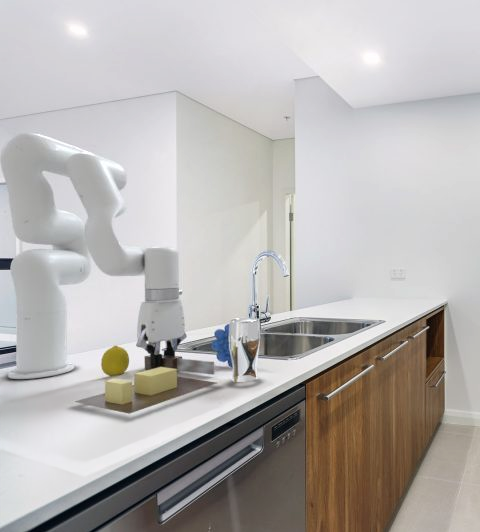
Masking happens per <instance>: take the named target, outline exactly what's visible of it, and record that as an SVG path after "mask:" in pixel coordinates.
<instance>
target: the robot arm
mask: <svg viewBox="0 0 480 532" xmlns="http://www.w3.org/2000/svg"><path fill="white" fill-rule="evenodd" d="M0 168H1V171H2V175H3V178H4V181H5V185H6V188H7V193H8V201H9V209H10V216H11V222H12V229H13V232H14V235H15V237H16V238H17V239H18V240H19V241H20V242H23V243H27V244H32V245H46V246H48V245H49V246H51V247H52V248H33V249H32V248H31V249H27V250H24V251H21V252H19V253H17V255H15V256H14V257H13V259H12V261H11V263H10V275H11V279H12V282H13V286H14V293H15V304H16V307H15V308H16V310H15V311H16V357H15V358H14V361H15V363H16V368H14V369H12V370H9V371H8V372H7V377H8V378H9V379H12V380H30V379H31V380H32V379H40V378H48V377H51V376H58V375H61V374H65V373H68V372H71V371H73V370H74V369H75V364H74V363H73V362H68V351H67V350H68V347H67V345H68V344H67V343H68V342H67V341H68V340H67V339H68V335H67V334H68V330H67V329H68V324H67V323H68V322H67V321H68V318H67V317H68V312H67V300H66V299H67V298H66V296H65V293H64V292H63V290H62V288H61V286H71V285H78V284H81V283H84V282H85V281H86V280H87V279H88V277H89V276H90V274H91V271H92V260H93V262H94V264H95V265H96V267H97V268H98V269H99V270H100V271H101V272H102V273H104V275H107V276H110V277H137V276H138V277H140V276H144V301H142V302H141V304H140V306H139V311H138V318H137V327H136V328H137V329H136V338H137V341H136V344H135V346H136V347H137V348H139V349H143V350H145V351H146V352H147V354H148V355H150V365H151V369H154V368H158V367H162V355H171V356H176V351H177V350H178V347H179V345H180V344H181V342H183V341H185V339H186V338H187V337H188V336H187V333H186V332H185V331H186V330H185V329H186V328H185V327H186V326H185V325H186V324H185V313H184V307H183V302H182V300H181V299H180V296H181V295H182V294H183V290H182V289H180V252H179V250H178V249H177V248H175V247H172V246H150V247H144V246H134V245H122V244H121V242H120V239H119V238H118V235H117V234H116V231H115V227H114V221H115V219H116V218H118V217H120V216H122V215H123V214H124V213H125V212H126V211H127V203H126V201H125V200H124V198H123V196H122V194H121V192H120V191H122V190H123V189H125V187H126V186H127V183H128V175H127V171H126V170H125V168H123V166H122V165H121V164H120V163H118V162H116V161H114V160H111V159H108V158H105V157H102V156H100V155H98V154H95V153H92V152H90V151H87V150H84V149H82V148H80V147H77V146H74V145H71V144H68V143H65V142H62V141H60V140H57V139H54V138H51V137H48V136H45V135H42V134H37V133H33V132H31V133H30V132H22V133H17V134H14V135H13V136H11V137H10V138H9V139H8V140H7V141H6V142H5V143H4V145H3V146H2V149H1V151H0ZM43 172H47V173H52V174H55V175H59V176H63V177H66V178H69V180H70V182H71V185H72V186H73V188H74V190H75V192H76V194H77V196H78V198H79V200H80V202H81V204H82V206H83V208H84V210H85V213H86V215H87V218H86V221H85V223H84V221H83V220H82V219H81V218H80V217H79V216H78V215H77V214H75V213H72V212H70V211H66V210H61V209H57V206H56V202H55V195H54V194H55V193H54V191H53V188H52V186H51V184H50V182H49V181H48V180H47V178H46V177H45V175H44V173H43ZM91 258H92V259H91ZM161 342H165V343H164V344H165V350H163V354H162V353H161ZM151 369H150V370H151Z"/></svg>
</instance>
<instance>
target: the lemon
mask: <svg viewBox="0 0 480 532" xmlns="http://www.w3.org/2000/svg"><path fill="white" fill-rule="evenodd" d="M129 365H130V357H129V353H128V351H127V350H126V349H125V348H123V347H121V346H118V345H113V346H112V347H110V348H109V349H107V350H105V352H104V353H103V355H102V357H101V361H100V367H101V370H102V372H103V373H104V374H105V375H107V376H108V377H112V376H118V375H119V376H120V375H123V374H124V373H125V372H126V371H127V370H128V368H129Z"/></svg>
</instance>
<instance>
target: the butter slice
mask: <svg viewBox="0 0 480 532" xmlns="http://www.w3.org/2000/svg"><path fill="white" fill-rule="evenodd" d="M132 385H133V381H132V380H126V379H119V378H112V379H108V380H105V381H104V393H105V402H110V403H115V404H120V405H123V404H126V403H130V402H132Z"/></svg>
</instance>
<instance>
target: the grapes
mask: <svg viewBox="0 0 480 532" xmlns="http://www.w3.org/2000/svg"><path fill="white" fill-rule="evenodd" d="M229 326H230V323H226V324H225V326H224V329H223V328H222V329H221V328H218V329H216V330H215V331H214V332H213V333H214V338H215V339H214V340H212V341H211V343H210V346H211V349H212V350H214V351H215V352H217V353H216V354H215V355H216V359H217V360H218V361H219V362H221V363H225V362H227V365H228V366H229V367H230V368H232V369H233V366H232V360H231V354H230V349H229Z"/></svg>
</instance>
